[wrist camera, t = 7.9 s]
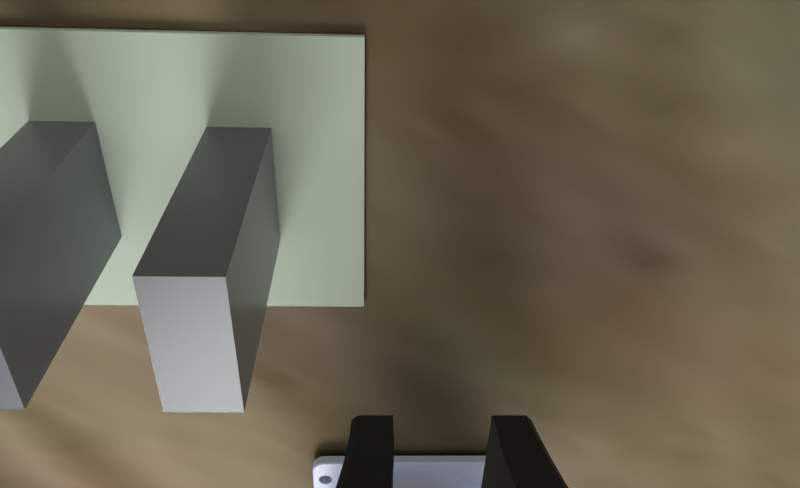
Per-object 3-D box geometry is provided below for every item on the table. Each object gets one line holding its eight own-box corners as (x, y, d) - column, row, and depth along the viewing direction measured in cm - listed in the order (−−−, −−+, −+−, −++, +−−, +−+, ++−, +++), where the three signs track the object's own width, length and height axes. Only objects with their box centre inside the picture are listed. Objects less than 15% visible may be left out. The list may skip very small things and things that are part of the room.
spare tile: (95, 122, 19) (-30, 271, 13) (121, 236, 21) (24, 409, 15) (28, 120, 19) (-127, 270, 13) (62, 236, 21) (-59, 409, 15)
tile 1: (271, 127, 19) (225, 276, 13) (280, 240, 21) (244, 412, 15) (206, 126, 19) (131, 276, 13) (221, 240, 21) (163, 411, 15)
